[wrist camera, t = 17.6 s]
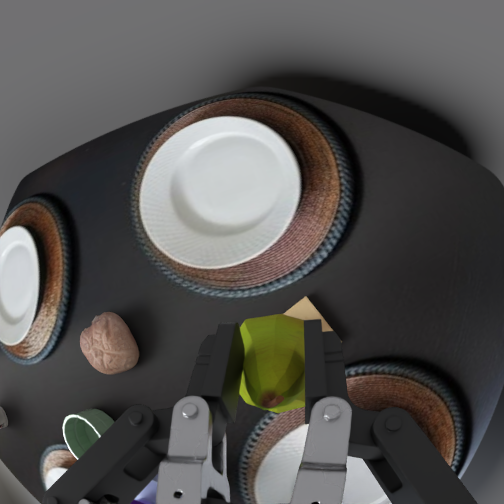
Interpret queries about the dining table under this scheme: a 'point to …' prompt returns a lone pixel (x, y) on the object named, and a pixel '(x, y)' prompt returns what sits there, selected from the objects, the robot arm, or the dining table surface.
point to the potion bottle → (148, 493)
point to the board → (307, 313)
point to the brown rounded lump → (109, 344)
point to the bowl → (85, 429)
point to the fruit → (273, 363)
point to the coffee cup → (3, 418)
